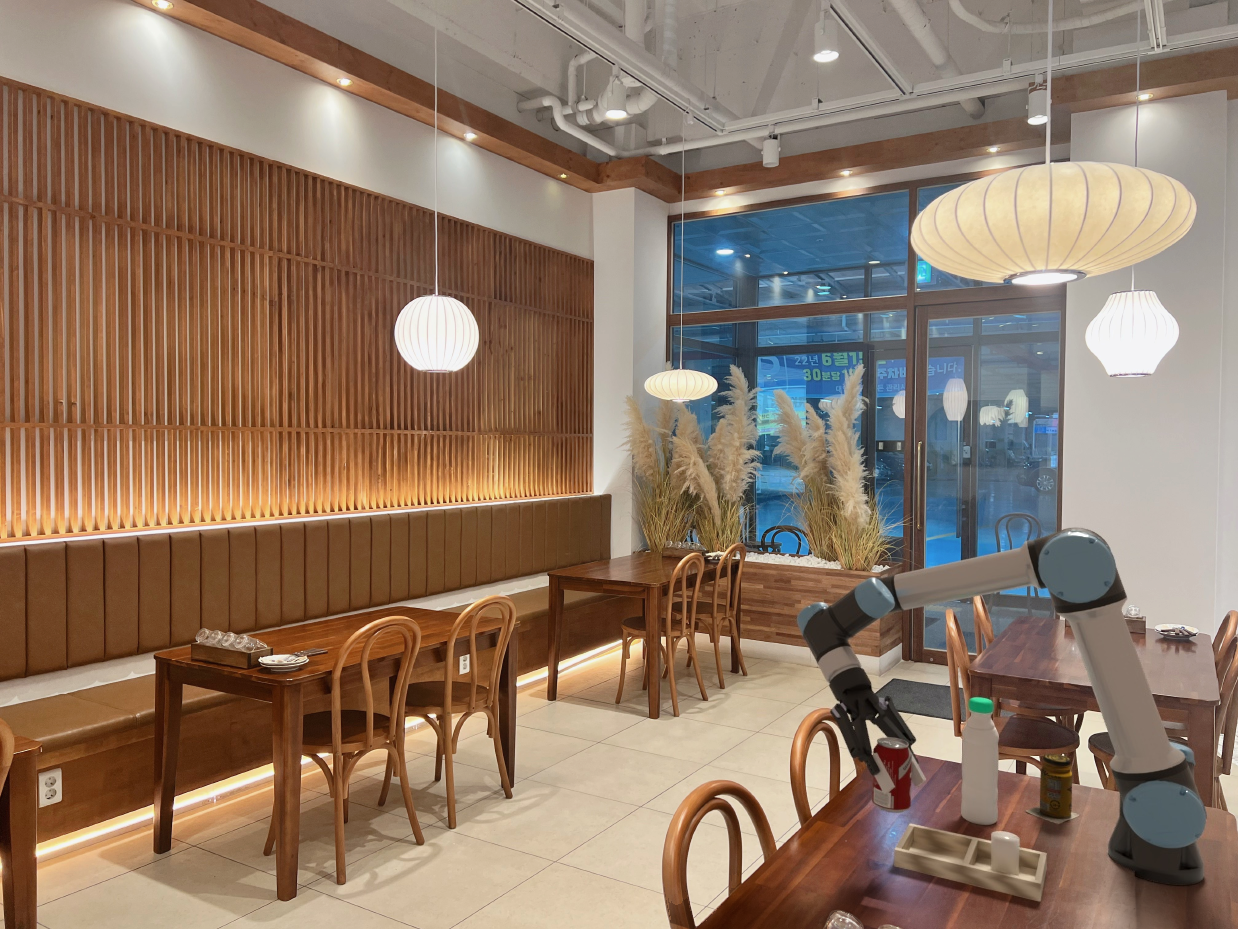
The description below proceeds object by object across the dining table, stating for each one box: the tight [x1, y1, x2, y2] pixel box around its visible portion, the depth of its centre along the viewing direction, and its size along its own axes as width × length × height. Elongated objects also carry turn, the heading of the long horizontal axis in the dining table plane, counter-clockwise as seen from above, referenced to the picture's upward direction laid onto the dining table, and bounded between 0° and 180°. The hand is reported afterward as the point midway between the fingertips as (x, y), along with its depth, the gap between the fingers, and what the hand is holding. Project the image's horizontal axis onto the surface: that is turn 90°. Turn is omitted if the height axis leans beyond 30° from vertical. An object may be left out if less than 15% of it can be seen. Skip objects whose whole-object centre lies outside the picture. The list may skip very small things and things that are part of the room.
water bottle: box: [960, 696, 1000, 826], centre depth 181 cm, size 7×7×25 cm
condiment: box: [1025, 753, 1081, 825], centre depth 184 cm, size 7×8×12 cm
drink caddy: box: [893, 823, 1048, 903], centre depth 157 cm, size 24×13×4 cm, turn 60°
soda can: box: [871, 736, 912, 814], centre depth 159 cm, size 7×7×12 cm
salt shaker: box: [990, 830, 1021, 876], centre depth 155 cm, size 5×5×7 cm
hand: (905, 786), depth 156 cm, fingers closed on soda can, 7 cm apart
